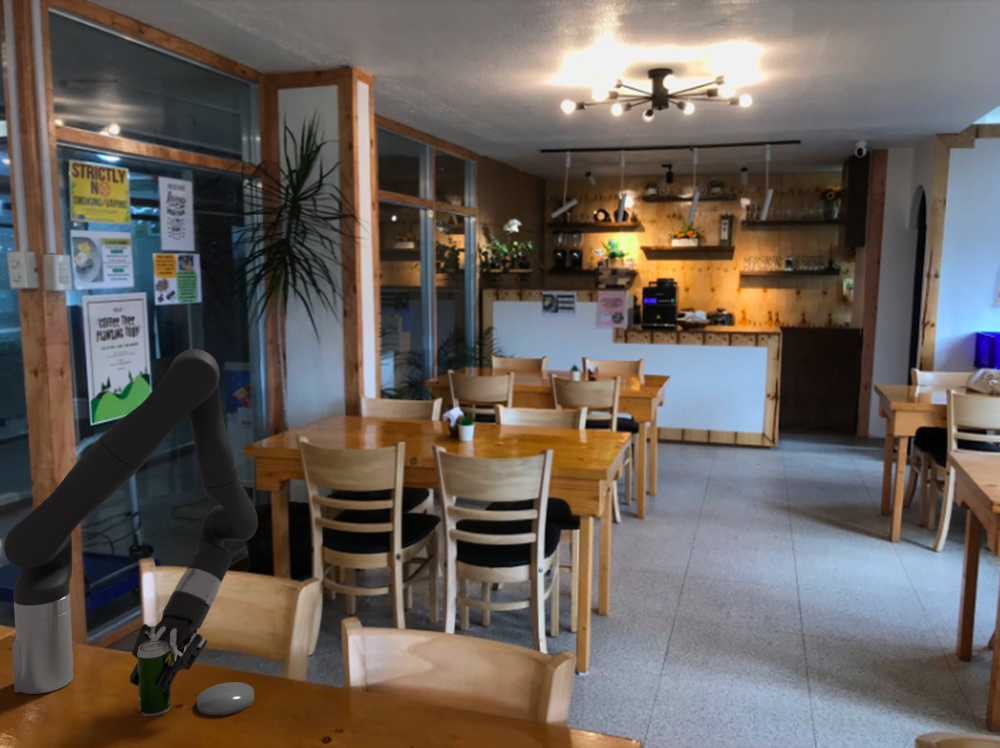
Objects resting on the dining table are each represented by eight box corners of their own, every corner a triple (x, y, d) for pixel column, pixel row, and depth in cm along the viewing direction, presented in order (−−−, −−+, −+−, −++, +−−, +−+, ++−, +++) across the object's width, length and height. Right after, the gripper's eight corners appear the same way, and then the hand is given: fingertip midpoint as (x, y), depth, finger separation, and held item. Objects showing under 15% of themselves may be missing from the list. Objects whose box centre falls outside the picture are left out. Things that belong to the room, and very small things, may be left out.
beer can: (142, 720, 138) (139, 655, 137) (137, 707, 142) (134, 644, 141) (174, 712, 141) (172, 647, 140) (168, 699, 145) (166, 637, 144)
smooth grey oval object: (193, 719, 138) (193, 712, 138) (199, 691, 148) (199, 685, 148) (252, 711, 141) (252, 705, 141) (255, 685, 151) (255, 679, 151)
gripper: (151, 584, 149) (103, 672, 139) (213, 594, 144) (167, 686, 134) (173, 601, 155) (127, 687, 144) (233, 611, 150) (190, 701, 140)
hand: (147, 686), depth 139 cm, fingers closed on beer can, 5 cm apart
